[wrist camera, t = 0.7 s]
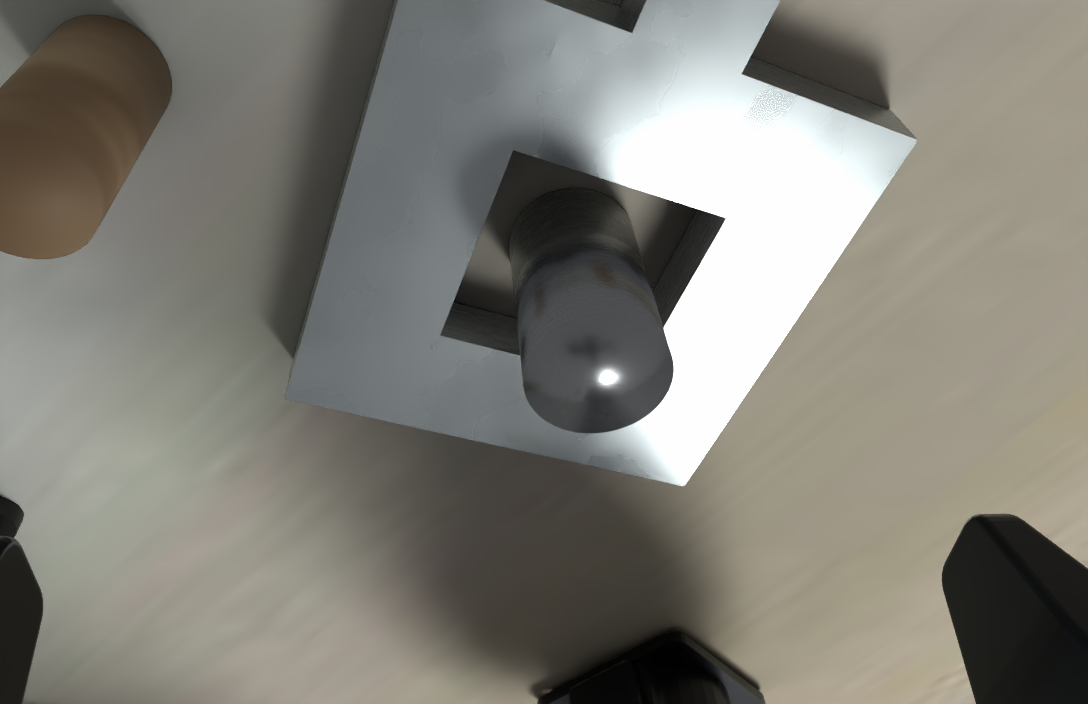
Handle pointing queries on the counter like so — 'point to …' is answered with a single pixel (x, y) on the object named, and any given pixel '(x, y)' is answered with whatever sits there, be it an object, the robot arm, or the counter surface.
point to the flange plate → (600, 150)
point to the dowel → (75, 132)
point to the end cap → (9, 517)
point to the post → (586, 314)
